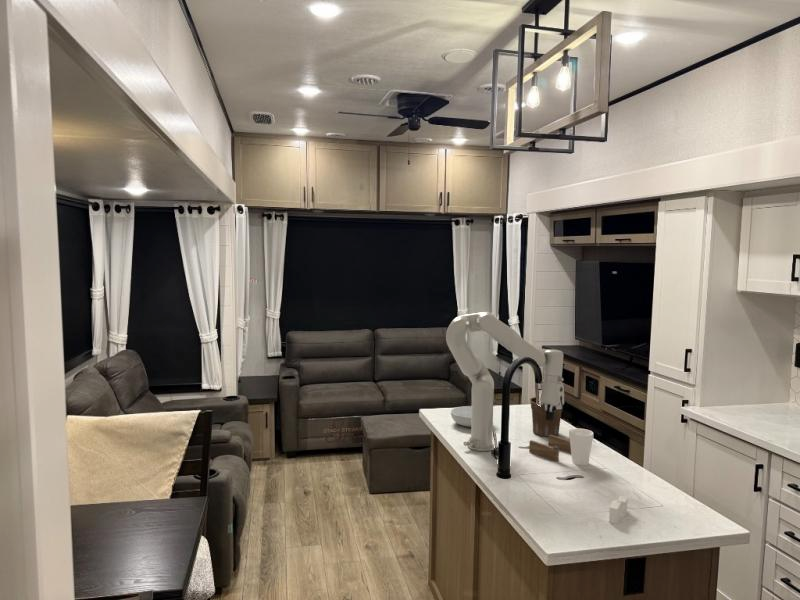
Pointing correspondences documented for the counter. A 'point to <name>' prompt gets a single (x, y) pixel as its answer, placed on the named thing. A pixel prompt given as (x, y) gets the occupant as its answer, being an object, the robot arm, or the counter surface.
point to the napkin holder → (618, 509)
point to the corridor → (550, 447)
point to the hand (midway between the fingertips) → (549, 419)
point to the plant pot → (544, 420)
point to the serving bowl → (462, 415)
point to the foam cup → (580, 445)
